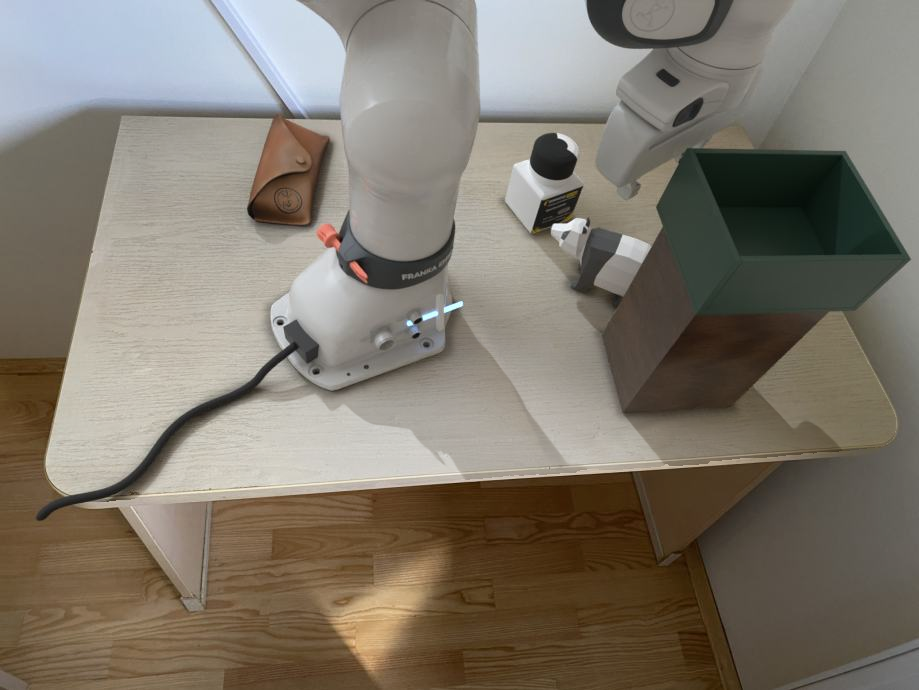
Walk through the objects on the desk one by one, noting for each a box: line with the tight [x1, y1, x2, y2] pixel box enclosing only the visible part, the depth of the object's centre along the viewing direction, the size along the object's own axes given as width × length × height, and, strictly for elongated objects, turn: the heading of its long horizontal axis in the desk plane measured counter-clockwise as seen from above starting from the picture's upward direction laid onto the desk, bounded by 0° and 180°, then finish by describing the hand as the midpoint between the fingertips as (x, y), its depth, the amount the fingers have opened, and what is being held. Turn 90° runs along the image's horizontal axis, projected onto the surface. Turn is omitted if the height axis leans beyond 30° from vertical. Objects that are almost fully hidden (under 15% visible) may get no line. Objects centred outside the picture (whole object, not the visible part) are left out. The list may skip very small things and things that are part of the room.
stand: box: [601, 226, 829, 414], centre depth 73 cm, size 14×11×22 cm
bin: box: [655, 147, 912, 315], centre depth 61 cm, size 16×13×8 cm
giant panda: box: [549, 216, 652, 307], centre depth 85 cm, size 15×6×10 cm, turn 67°
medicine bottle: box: [504, 132, 585, 235], centre depth 90 cm, size 7×7×12 cm
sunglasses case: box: [246, 113, 331, 227], centre depth 91 cm, size 18×7×7 cm
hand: (655, 177), depth 73 cm, fingers open, 8 cm apart
